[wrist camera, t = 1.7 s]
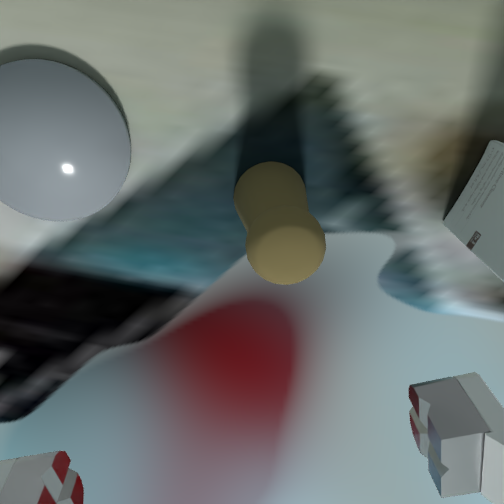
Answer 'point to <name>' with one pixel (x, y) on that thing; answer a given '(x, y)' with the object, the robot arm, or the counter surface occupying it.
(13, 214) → the counter surface
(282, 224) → the cork
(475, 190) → the skincare box
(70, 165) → the coaster
